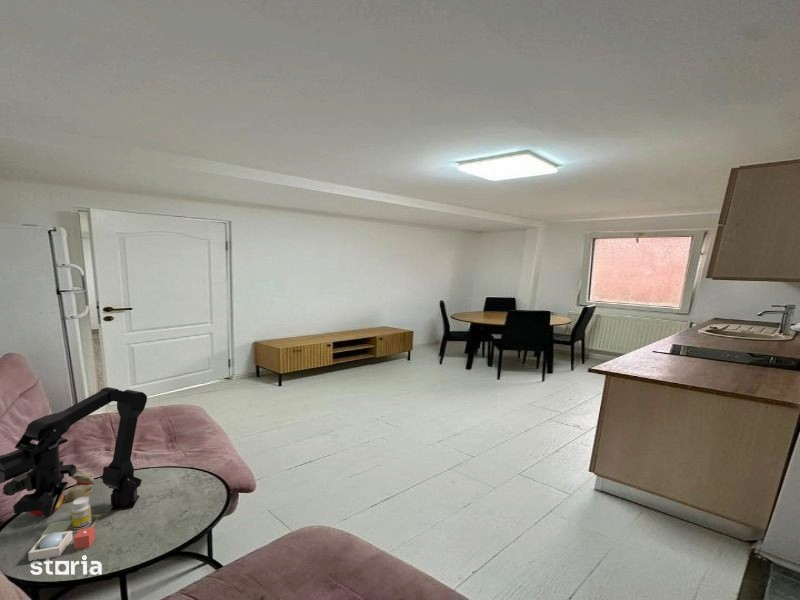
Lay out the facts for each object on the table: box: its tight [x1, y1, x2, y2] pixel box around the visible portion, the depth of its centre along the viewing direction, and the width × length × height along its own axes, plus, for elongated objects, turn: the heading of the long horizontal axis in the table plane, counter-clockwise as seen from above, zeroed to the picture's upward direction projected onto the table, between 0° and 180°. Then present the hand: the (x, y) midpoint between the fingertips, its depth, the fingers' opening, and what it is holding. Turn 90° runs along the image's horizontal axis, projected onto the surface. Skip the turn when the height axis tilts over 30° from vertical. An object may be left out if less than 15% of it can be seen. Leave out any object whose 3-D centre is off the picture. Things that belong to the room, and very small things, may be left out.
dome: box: [39, 532, 62, 549], centre depth 108 cm, size 5×5×3 cm
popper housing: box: [27, 530, 74, 562], centre depth 108 cm, size 7×7×2 cm
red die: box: [73, 526, 96, 550], centre depth 110 cm, size 4×4×4 cm
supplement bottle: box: [71, 495, 93, 530], centre depth 117 cm, size 5×5×8 cm
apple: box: [29, 493, 64, 517], centre depth 122 cm, size 8×8×8 cm
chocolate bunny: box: [64, 468, 95, 503], centre depth 131 cm, size 6×8×10 cm
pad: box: [40, 519, 72, 538], centre depth 116 cm, size 6×6×1 cm
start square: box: [64, 513, 102, 534], centre depth 118 cm, size 7×7×1 cm
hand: (49, 514), depth 107 cm, fingers closed
